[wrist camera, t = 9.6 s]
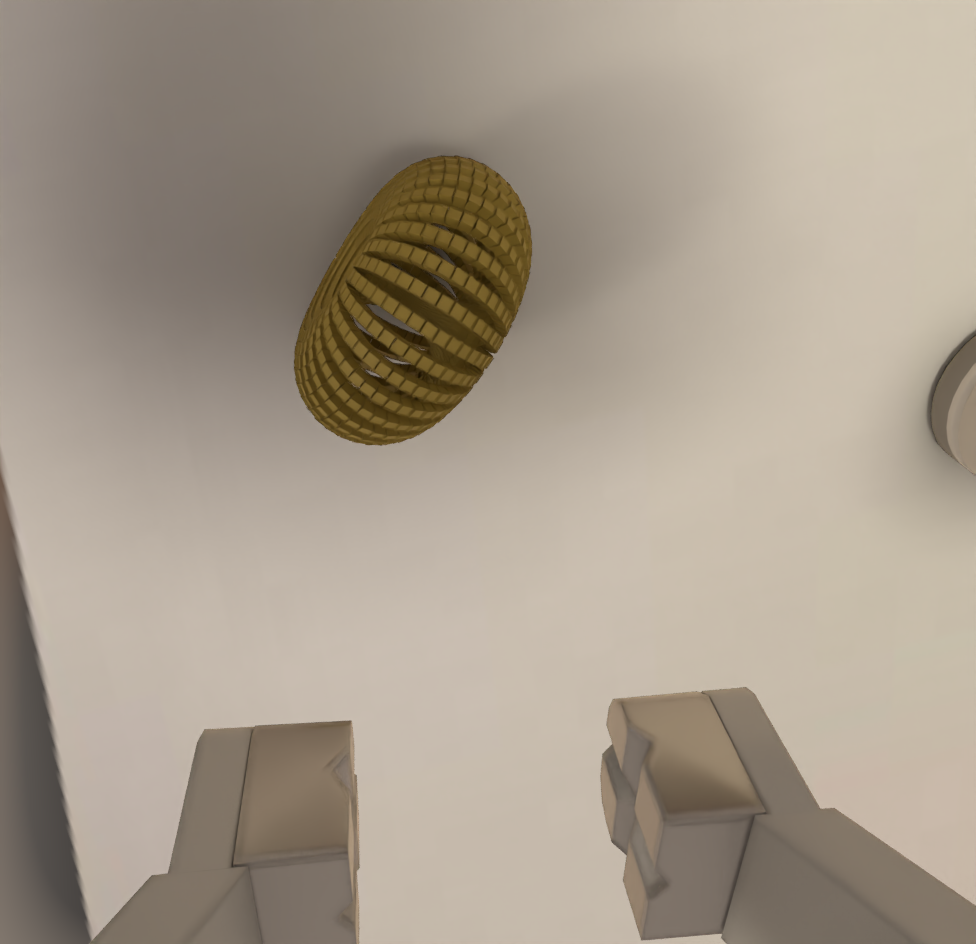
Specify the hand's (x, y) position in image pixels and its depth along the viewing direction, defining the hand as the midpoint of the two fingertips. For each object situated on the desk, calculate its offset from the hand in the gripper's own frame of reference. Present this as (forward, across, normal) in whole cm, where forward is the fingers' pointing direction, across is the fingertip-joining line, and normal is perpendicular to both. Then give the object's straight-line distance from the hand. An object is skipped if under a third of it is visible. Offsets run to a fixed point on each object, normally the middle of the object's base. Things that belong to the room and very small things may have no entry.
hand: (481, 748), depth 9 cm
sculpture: (+19, 0, 0) cm, 19 cm away
